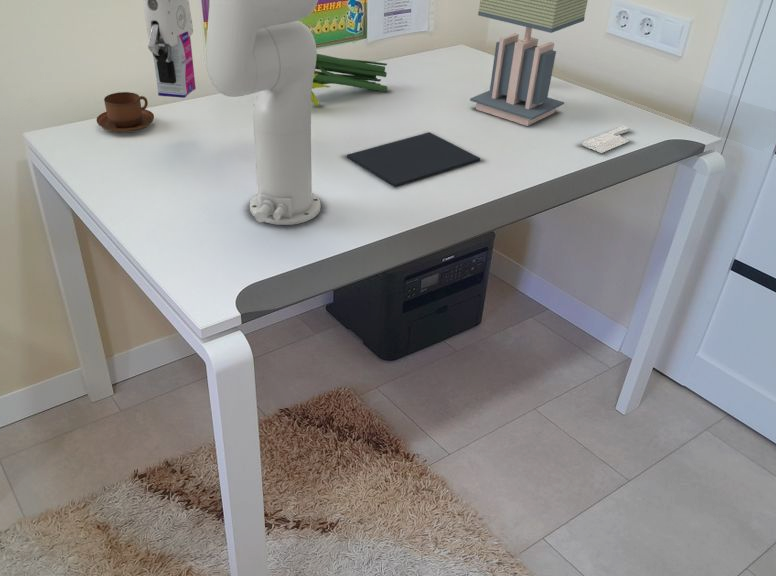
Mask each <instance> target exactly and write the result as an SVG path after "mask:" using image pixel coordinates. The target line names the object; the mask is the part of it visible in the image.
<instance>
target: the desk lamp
mask: <svg viewBox="0 0 776 576" xmlns="http://www.w3.org/2000/svg"><path fill="white" fill-rule="evenodd" d="M588 1H589V0H479V8H478V12H477V16H479V17H482V18H487V19H492V20H495V21H500V22H504V23H507V24H508V23H509V24H512V25H516V26H521V27H525V31H524V38H523V39H520V40H521V41H518V40H519V36H520V34H519V33H512V34H509V35H507V36H504V37H501V38H499V41H497V42H496V43H495V48H494V49H495V50H494V58H493V64H492V71H491V78H490V86H489V90H487V91H484V92H482V93H479V94H477V95H475V96H472V97H470V98H469V102H473V103H476V105H475V106H476V107H475V110H477V111H479V112H483V113H485V114H489V115H493V116H496V117H498V118H500V119H501V118H502V119H504V120H507V121H511V122H514V123H517V124H520V125H523V126H526V127H528V126H531V125H533V124H535V123H537V122H538V121H540V120H542V119H544V118H547V117H549V116H551V115H553V114H555V113H556V109H557V108H559V107H562V106H563V105H565V101H562V100H558V99H555V98H552V97H548V96H549V92H550V86H551V81H552V75H553V70H554V65H555V61H556V60H555V59H556V54H557V51H556V50H554V46H555V42H551V41H550V42H546V43H543V44H541V45H538V44H539V38H535V37H532V32H533V31H532V30H533V29H534V30H537V31H542V32H546V33H550V34H552V33H555V32H558V31H560V30H563V29H566V28H569V27H571V26H574V25H576V24H579V23H582V22H584V21H585V16H586V10H587V7H588Z"/></svg>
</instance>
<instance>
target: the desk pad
mask: <svg viewBox="0 0 776 576" xmlns="http://www.w3.org/2000/svg"><path fill="white" fill-rule="evenodd" d="M346 158H347V159H349V160H351V161H352V162H353V163H355V164H357V165H359V166H360V167H362V168H363V169H365V170H367V171H368V172H370V173H372V174H373V175H374V176H376V177H378V178H380V179H381V180H383V181H385V182H387V183H388V184H390V185H392V186H393V187H395V188H397V187H400V186H403V185H407V184H409V183H412V182H415V181H419V180H422V179H426V178H428V177H432V176H435V175H437V174H438V175H439V174H441V173H444V172H448V171H452V170H455V169H458V168H461V167H464V166H467V165H471V164H473V163H477V162H480V161H481V160H480V159H481V157H479V156H476V155H475V154H474V153H471V152H469V151H467V150H465V149H464V148H461V147H459V146H458V145H455V144H453V143H452V142H449V141H447V140H445V138H442V137H440V136H438V135H436V134H434V133H432V132H430V131H429V132H425V133H422V134H418V135H415V136H411V137H407V138H403V139H399V140H396V141H393V142H388V143H384V144H381V145H377V146H373V147H370V148H367V149H363V150H359V151H355V152H352V153H348V154H346Z"/></svg>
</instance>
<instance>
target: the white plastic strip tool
mask: <svg viewBox="0 0 776 576" xmlns="http://www.w3.org/2000/svg"><path fill="white" fill-rule="evenodd" d="M629 132H630V127H628V126H626V125H622V126H620V127H617V128H614V129H611V130H610V131H606V132H603V133H601V134H599V135H597V136H595V137H594V136H593V137H591V138H589V139H586V140H584V141H582V142H581V146H582V147H585V148H588V149H590V150H592V151H595V152H596V153H597V152H598V153H600V154H603V153H606V152H608V151H610V150H613V149H614V148H618V147H620V146H622V145H625V144H627V143H629V142H630V140H627V139H626V138H624V137H622V136H621V135H622V134H625V133H629Z"/></svg>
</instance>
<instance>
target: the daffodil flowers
mask: <svg viewBox="0 0 776 576" xmlns="http://www.w3.org/2000/svg"><path fill="white" fill-rule="evenodd" d="M387 65H388V63H387V62H379V61H371V60H362V59H352V58H351V59H350V58H340V57H335V56H330V55H326V54H321V53H317V57H316V66H315V72H314V77H313V84H312V89H318V88H319V89H320V88H331V85H330V84H333V85H340V86H346V87H347V86H348V87H355V88H361V89H366V90H373V91H379V92H384V93H385V92H388V86H387V85H384V84H381V83H377V82H381V81H382V79H381V78H387V74H388V73H387V71H386V66H387ZM319 70H320V71H319ZM378 77H381V78H380V79H379V78H378ZM328 84H329V85H328ZM311 103H313V104H314V105H316V106H317V107H320V106H321V105H320V103H319V101H318V99H317V97H316V95H315V94H314V92H313V91H312V92H311Z"/></svg>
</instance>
